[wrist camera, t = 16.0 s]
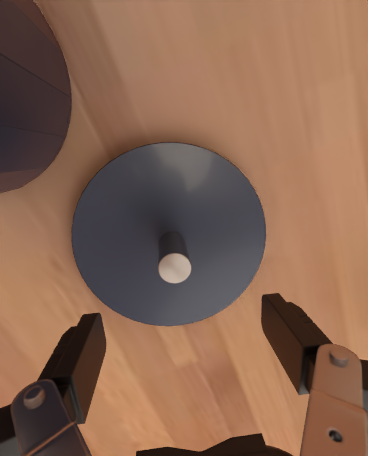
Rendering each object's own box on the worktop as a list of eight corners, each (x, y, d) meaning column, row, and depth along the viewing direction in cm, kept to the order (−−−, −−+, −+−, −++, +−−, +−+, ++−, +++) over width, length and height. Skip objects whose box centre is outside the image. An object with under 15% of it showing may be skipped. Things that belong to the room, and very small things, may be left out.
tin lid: (94, 328, 26) (74, 380, 20) (56, 150, 20) (14, 149, 15) (259, 308, 27) (287, 352, 21) (263, 135, 22) (301, 128, 16)
